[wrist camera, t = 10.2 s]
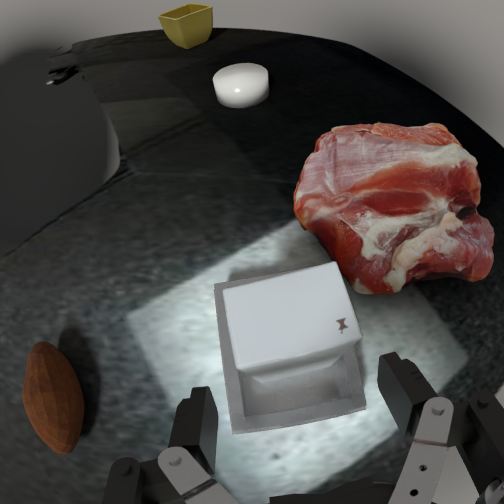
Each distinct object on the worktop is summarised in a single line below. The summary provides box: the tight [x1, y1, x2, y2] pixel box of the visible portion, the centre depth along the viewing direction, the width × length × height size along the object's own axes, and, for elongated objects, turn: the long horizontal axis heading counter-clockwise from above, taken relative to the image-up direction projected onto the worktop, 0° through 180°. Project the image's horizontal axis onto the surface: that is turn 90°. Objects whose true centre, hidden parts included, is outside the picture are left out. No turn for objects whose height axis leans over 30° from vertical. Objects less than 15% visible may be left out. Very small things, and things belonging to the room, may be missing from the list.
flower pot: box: [158, 3, 213, 49], centre depth 51 cm, size 9×9×9 cm
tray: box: [214, 266, 366, 434], centre depth 24 cm, size 11×13×3 cm
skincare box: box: [223, 261, 363, 383], centre depth 19 cm, size 6×4×12 cm
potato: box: [22, 342, 85, 455], centre depth 21 cm, size 6×12×6 cm, turn 21°
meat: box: [294, 122, 494, 294], centre depth 26 cm, size 21×21×10 cm
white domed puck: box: [213, 63, 269, 108], centre depth 41 cm, size 8×8×4 cm
